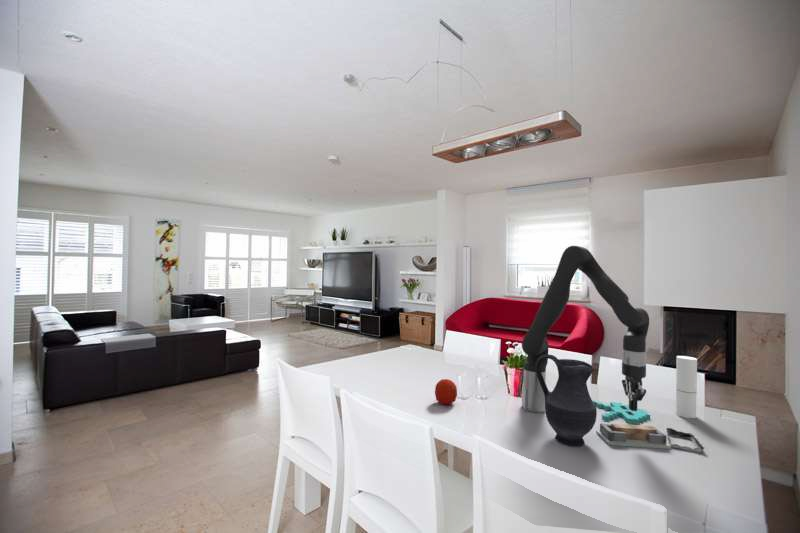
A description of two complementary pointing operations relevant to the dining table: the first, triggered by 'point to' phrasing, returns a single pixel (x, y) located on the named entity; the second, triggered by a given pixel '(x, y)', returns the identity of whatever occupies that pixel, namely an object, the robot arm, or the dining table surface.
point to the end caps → (621, 436)
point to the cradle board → (633, 442)
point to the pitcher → (569, 400)
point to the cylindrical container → (686, 386)
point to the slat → (634, 431)
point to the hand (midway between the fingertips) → (633, 410)
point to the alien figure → (622, 412)
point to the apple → (445, 392)
